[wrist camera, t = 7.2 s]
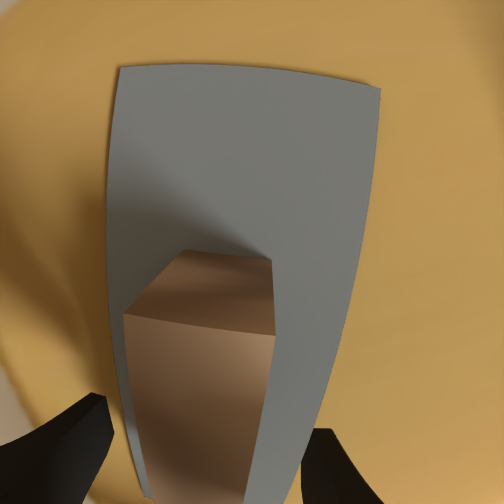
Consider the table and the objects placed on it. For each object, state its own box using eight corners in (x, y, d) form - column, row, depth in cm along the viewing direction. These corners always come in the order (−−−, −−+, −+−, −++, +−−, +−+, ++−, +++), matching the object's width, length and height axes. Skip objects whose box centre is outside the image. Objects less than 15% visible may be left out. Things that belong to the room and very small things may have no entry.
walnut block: (271, 260, 11) (275, 335, 6) (241, 463, 13) (233, 543, 9) (183, 249, 11) (122, 313, 6) (183, 454, 13) (162, 531, 9)
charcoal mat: (277, 511, 16) (277, 516, 15) (145, 492, 16) (144, 496, 15) (377, 90, 9) (380, 88, 9) (125, 70, 9) (120, 67, 9)
